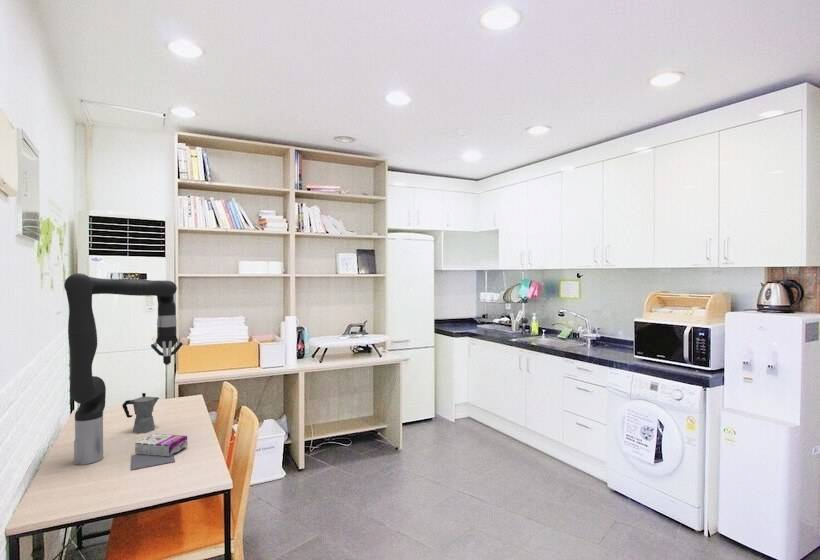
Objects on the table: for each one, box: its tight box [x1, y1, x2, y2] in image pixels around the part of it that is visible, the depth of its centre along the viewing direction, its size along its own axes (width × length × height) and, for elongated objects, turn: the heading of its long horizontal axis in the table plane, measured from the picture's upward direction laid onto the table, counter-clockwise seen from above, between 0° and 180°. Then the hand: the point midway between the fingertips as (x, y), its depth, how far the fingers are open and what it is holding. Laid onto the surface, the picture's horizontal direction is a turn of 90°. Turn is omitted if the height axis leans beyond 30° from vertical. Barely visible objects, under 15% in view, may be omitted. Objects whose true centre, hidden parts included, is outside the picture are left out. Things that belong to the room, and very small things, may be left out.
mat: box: [130, 454, 176, 471], centre depth 182 cm, size 15×16×1 cm
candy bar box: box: [134, 433, 188, 457], centre depth 190 cm, size 11×5×16 cm
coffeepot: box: [122, 392, 160, 434], centre depth 216 cm, size 15×9×18 cm, turn 129°
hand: (167, 364), depth 199 cm, fingers closed
